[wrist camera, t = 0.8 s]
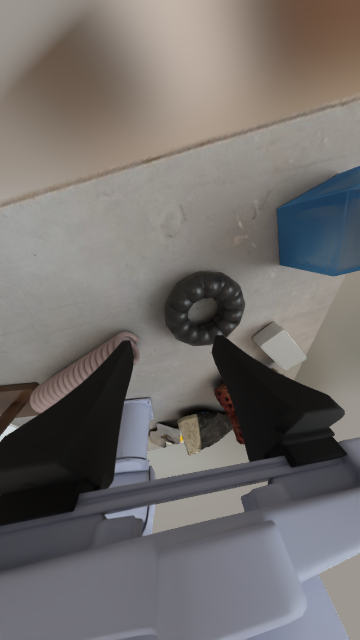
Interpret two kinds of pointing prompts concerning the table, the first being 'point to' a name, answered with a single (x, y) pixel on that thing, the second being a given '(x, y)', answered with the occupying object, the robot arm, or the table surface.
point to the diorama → (165, 435)
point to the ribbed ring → (196, 290)
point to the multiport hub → (279, 346)
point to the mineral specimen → (203, 429)
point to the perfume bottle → (323, 227)
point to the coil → (77, 373)
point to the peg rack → (15, 403)
